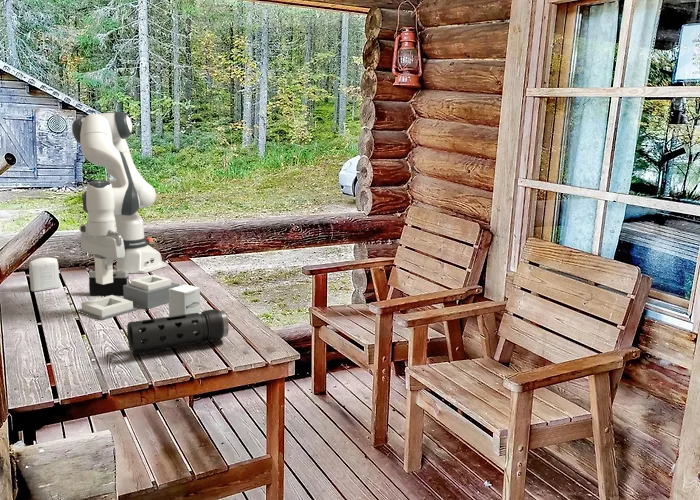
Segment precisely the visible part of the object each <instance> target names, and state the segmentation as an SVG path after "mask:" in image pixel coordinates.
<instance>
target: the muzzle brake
mask: <svg viewBox="0 0 700 500" xmlns="http://www.w3.org/2000/svg"><path fill="white" fill-rule="evenodd" d="M229 329H230V327H229V319H228V315H227V312H226V311H225V310H223V309H222V310H219V309H217V308H213V309H207V310H204V311H201V312H200V314H199V313H191V314H184V315H177V316H170V317H169V316H165V317H164V316H163V317H156V318H150V319H143V320H135V321H128V323H127V329H126V331H127V332H126V333H127V334H126V335H127V341H128V342H127V343H128V348H129V350H130V353H131V354H132V355H133V356H138V355H143V354H144V355H145V354H149V353H155V352H163V351H166V350H168V349H176V347H180V346H187V345H192V344H193V345H194V347H195V346H200V345H201V346H202V345H206V343H207V342H215V341H220V340H221V339H223V338H225V337H227V336H228V334H229Z"/></svg>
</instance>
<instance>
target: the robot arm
mask: <svg viewBox="0 0 700 500" xmlns="http://www.w3.org/2000/svg"><path fill="white" fill-rule="evenodd" d="M71 130H72V136H73V138H74V139H75V142H77V143H78V144H79V145H80V150H81V153H82V156H83V157H84V158H85V159H86V160H87V161H88V162H89V163H91V164H93V165H96V166H99V167H103V168H105V169H106V172H107V174H108V175H110V176H111V177H113V180H106V179H105V180H104V179H93V180H91V181H89V182H87V184H86V190H84V191H83V193H82V194H81V198H82V211H84V212H85V213H86V214H87V219H86V222H87V223H84V224H81V225H80V226H79V232H81V233H80V247H81V250H82V251H83V252H84V253H88V254H91V255H92V257H93V260H94V261H95V256H94V254H97V255H100V256H103V257H106V260H107V264H106V265H105V269H106V270H112V266H113V263H114V262H115V261H116V264H115V268H114V269H115V270H116V268H117V269H118V270H121V269H123V270H128V274H138V273H139V274H147V273H150V272H153V271H156V270H160V269H162V268H164V267H165V268H166V267H168V263H167V262H165V261H163V258H162V255H161V253H160V252H159V251H158V250H156V249H155V247H152V246H150V245H149V243H153V238H152V237H145V226H144V219H143V218H142V216H140V215H139V214H138V211H139V210H140V209H142V208H149V207H151V206H153V204H154V203H155V201H156V198H157V193H156V189H155V188H154V186H152V185H151V184H150V183H149V182H147V181H146V180H145V179H144V177H143V176H142V175H141V173H140V172H139V170H138V168H137V167H136V165H135V162H134V159H133V157H132V155H131V152H130V151H131V150H130V148H129V144H128V142H127V140H126V139H127V138H129V137H131V135H132V134H133V122H132V119H131V118H130V117H129V115H128V114H127V113H126V112H124V111H115V112H103V113H92V114H88V115H86V116H85V117H79V118H77V119H75V120H74V121H73V123H72V126H71Z"/></svg>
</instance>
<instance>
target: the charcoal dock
mask: <svg viewBox="0 0 700 500" xmlns="http://www.w3.org/2000/svg"><path fill="white" fill-rule="evenodd" d="M178 286H180V284H179V283H176V282H172V279H171V278H168V277H163V276H160V275H157V274H150V275H146V276H142V277H137V278H134V279H130V283H129V284H127V285H123V293H124V296H123V299H126V300H129V301H132V302H133V306H134V305H135V306H138V307H141V308H144V309H147V310H149V309H148V308H150V309H153V308H155V307H159V306H163V305H167V304H169V289H171V288H174V287H178Z"/></svg>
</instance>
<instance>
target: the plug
mask: <svg viewBox="0 0 700 500" xmlns="http://www.w3.org/2000/svg"><path fill="white" fill-rule="evenodd" d="M94 256H95V260H94V269H95V274H96V283H99V284H102V285H104V284H108V283H113V268H114V267H113V265H112V270H106V269H105V265H106V264H107V260H106V257H103V256H100V255H97V254H94Z"/></svg>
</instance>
